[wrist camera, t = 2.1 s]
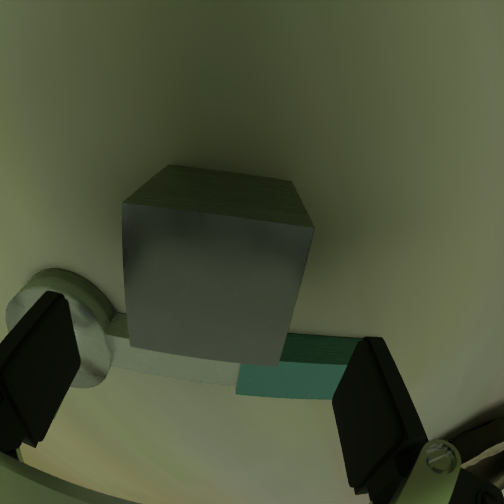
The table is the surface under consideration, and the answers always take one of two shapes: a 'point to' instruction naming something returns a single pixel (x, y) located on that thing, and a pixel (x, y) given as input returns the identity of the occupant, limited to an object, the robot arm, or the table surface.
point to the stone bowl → (484, 452)
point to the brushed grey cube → (213, 264)
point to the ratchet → (175, 366)
